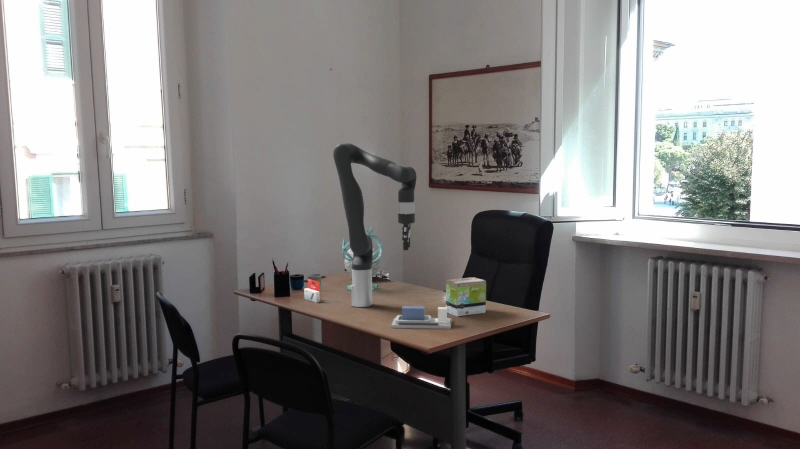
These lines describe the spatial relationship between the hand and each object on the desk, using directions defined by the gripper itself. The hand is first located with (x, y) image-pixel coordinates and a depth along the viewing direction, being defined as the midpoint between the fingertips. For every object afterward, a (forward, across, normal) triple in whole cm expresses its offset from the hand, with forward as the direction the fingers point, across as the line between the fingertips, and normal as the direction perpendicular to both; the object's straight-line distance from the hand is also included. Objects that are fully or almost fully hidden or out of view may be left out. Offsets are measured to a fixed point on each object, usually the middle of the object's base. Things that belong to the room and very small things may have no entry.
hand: (406, 248), depth 290 cm
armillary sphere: (+28, -49, -28) cm, 63 cm away
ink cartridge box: (+28, -19, -48) cm, 59 cm away
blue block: (+27, +23, +4) cm, 36 cm away
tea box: (+28, +2, +26) cm, 39 cm away
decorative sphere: (+28, -73, -32) cm, 85 cm away
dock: (+28, +23, +8) cm, 37 cm away
